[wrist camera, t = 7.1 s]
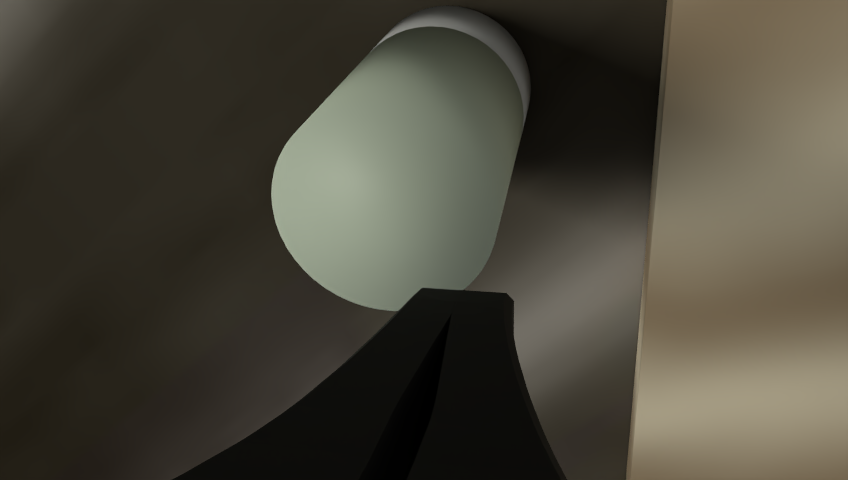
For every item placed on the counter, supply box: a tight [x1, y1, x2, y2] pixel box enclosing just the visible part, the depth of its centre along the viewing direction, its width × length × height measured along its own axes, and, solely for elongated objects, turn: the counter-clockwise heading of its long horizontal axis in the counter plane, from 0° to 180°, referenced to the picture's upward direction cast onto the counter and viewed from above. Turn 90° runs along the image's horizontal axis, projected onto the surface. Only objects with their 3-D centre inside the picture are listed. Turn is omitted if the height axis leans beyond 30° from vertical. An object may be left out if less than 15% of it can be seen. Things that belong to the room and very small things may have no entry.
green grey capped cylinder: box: [271, 6, 531, 311], centre depth 17 cm, size 4×4×7 cm
